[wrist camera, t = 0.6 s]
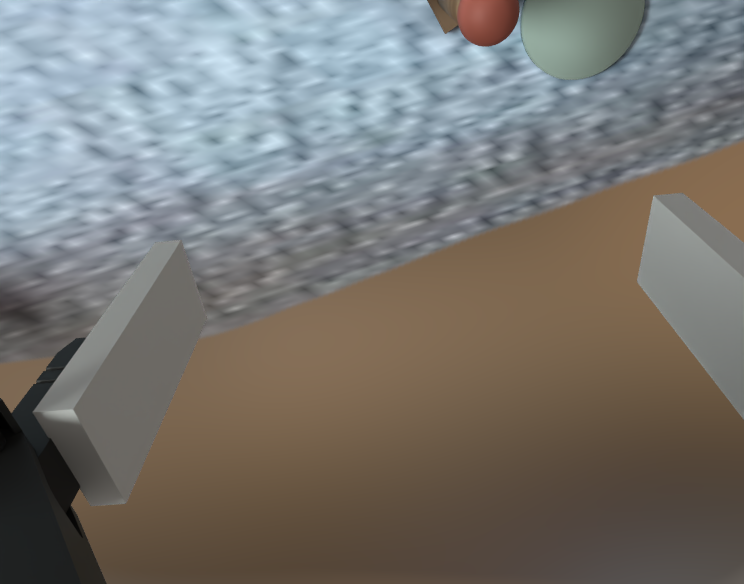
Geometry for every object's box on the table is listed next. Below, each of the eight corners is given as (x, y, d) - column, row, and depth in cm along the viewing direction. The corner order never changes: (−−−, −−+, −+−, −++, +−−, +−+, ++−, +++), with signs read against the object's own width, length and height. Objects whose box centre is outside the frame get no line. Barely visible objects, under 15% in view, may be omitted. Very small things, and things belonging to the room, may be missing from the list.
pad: (500, -3, 36) (502, -3, 36) (616, -84, 34) (620, -84, 33) (548, 100, 40) (551, 102, 39) (656, 34, 37) (660, 35, 37)
